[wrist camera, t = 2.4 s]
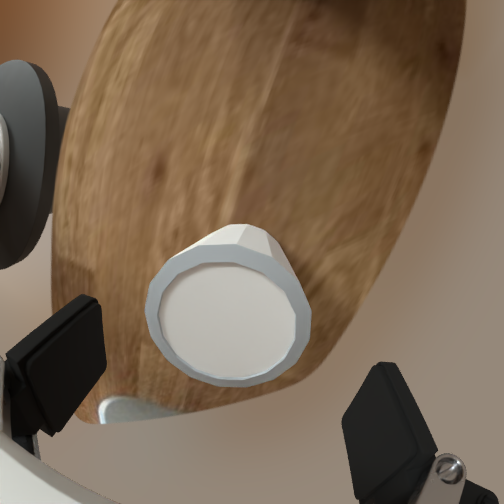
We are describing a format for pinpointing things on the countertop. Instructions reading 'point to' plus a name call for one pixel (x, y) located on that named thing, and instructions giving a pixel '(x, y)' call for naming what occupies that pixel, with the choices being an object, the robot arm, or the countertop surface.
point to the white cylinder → (229, 309)
